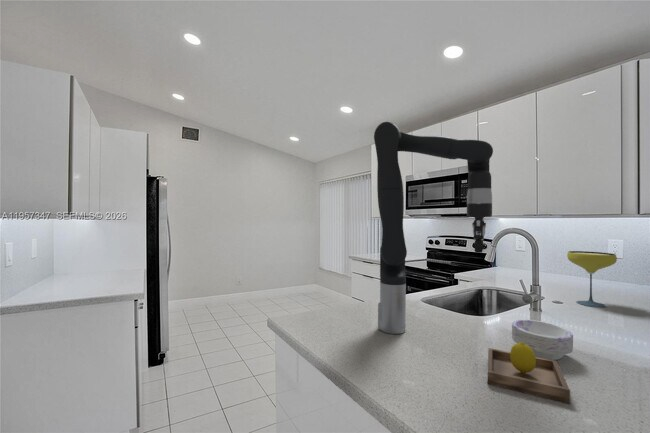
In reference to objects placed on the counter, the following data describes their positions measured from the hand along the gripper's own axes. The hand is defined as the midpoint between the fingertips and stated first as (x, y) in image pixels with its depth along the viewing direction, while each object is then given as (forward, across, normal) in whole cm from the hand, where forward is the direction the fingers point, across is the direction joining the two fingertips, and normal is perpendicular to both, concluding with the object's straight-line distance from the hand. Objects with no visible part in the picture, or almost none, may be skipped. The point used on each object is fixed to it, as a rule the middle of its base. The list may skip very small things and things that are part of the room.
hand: (479, 251), depth 100 cm
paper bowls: (+30, 0, +17) cm, 35 cm away
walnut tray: (+30, +20, +11) cm, 38 cm away
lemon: (+29, +20, +11) cm, 37 cm away
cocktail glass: (+30, -79, +46) cm, 96 cm away
